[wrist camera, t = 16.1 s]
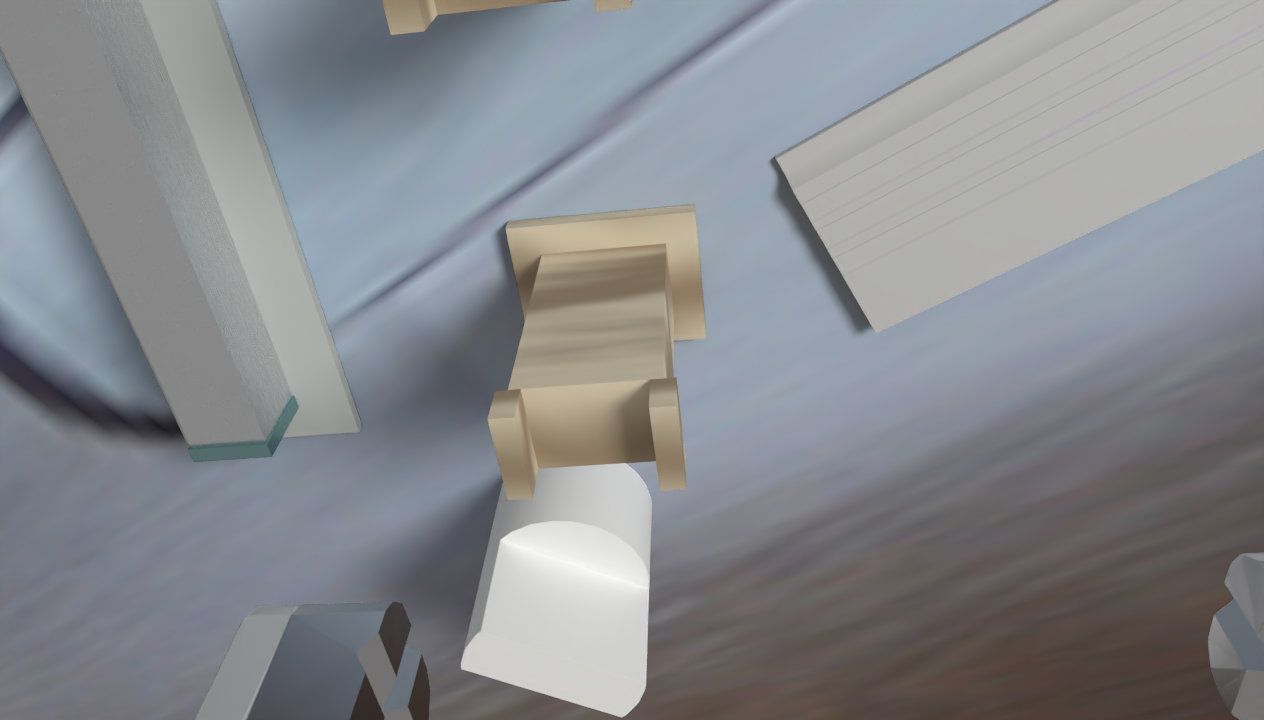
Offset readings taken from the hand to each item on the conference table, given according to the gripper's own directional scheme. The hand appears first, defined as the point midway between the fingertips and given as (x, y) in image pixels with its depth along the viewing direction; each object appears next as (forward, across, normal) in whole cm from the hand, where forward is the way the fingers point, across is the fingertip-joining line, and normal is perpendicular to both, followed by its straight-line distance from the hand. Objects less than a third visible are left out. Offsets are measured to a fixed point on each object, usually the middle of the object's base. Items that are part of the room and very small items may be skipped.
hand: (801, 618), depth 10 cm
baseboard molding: (+36, -18, +7) cm, 41 cm away
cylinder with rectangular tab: (+35, +10, +30) cm, 47 cm away
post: (+35, +6, +15) cm, 39 cm away
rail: (+35, +26, +6) cm, 44 cm away
